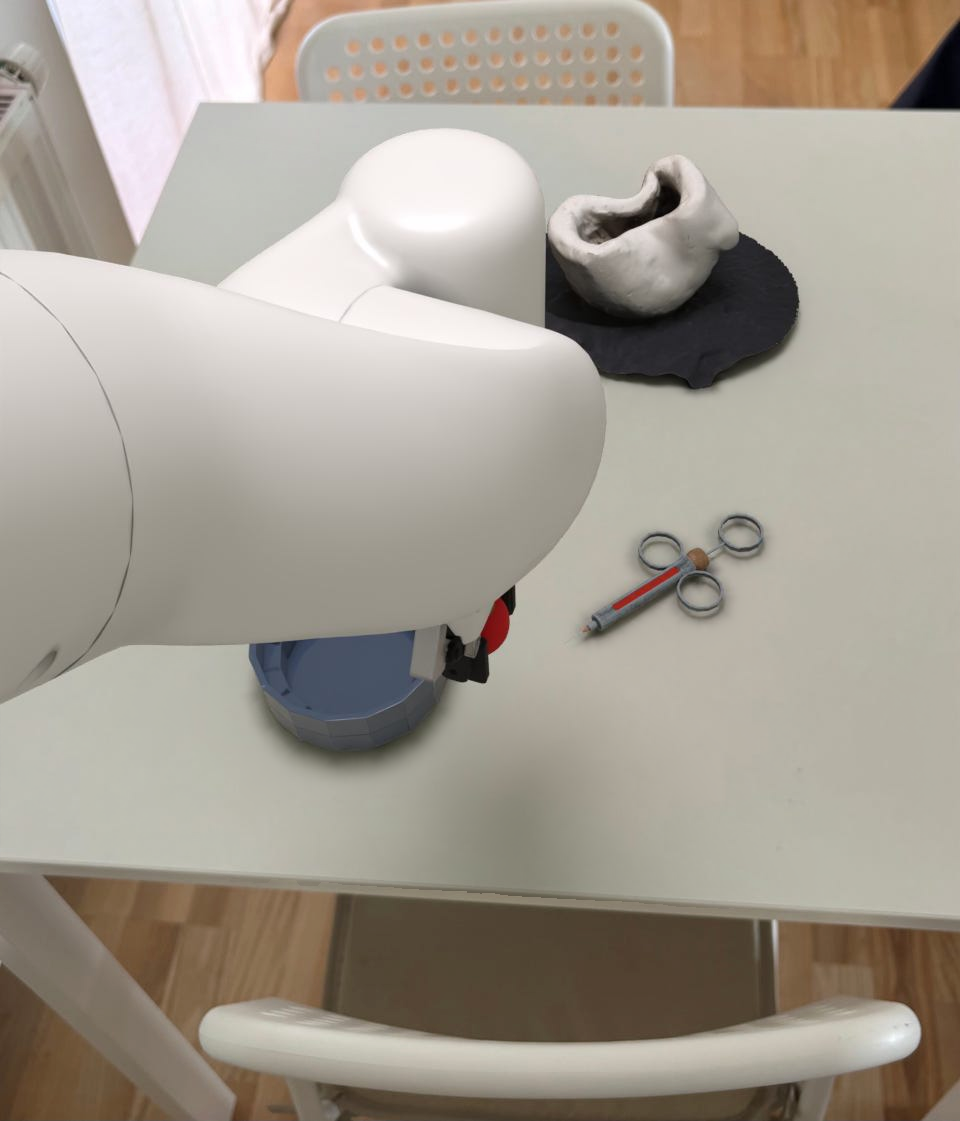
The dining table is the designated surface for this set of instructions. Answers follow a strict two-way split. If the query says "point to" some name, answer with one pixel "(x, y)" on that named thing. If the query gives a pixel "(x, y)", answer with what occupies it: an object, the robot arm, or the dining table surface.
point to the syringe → (669, 578)
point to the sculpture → (664, 279)
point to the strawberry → (496, 626)
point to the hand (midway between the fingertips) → (474, 637)
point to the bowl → (345, 688)
